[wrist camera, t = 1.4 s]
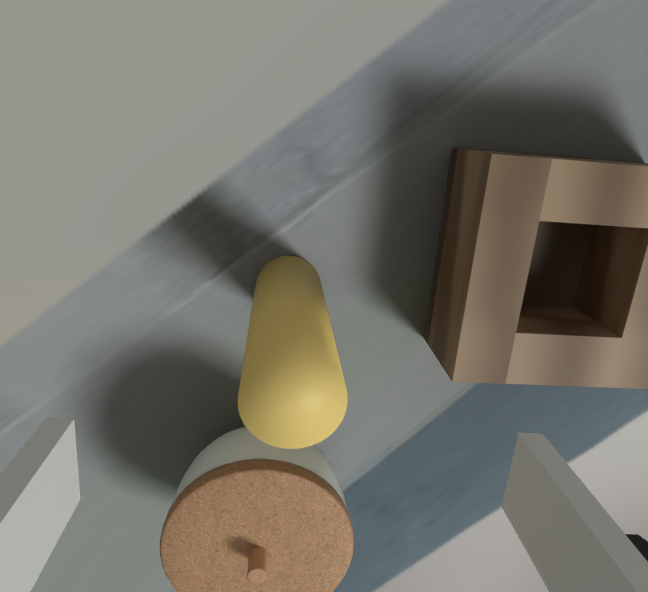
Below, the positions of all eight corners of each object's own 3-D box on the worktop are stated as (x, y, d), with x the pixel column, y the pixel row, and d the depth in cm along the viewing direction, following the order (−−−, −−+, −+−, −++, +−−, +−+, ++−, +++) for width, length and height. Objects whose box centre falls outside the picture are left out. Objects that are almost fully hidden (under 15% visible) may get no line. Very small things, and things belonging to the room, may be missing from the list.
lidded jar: (178, 522, 37) (146, 647, 28) (190, 388, 34) (158, 482, 25) (326, 532, 39) (340, 655, 30) (351, 404, 35) (375, 499, 26)
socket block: (423, 338, 34) (452, 381, 28) (452, 147, 30) (491, 153, 25) (597, 346, 35) (658, 389, 30) (645, 163, 32) (725, 172, 26)
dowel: (254, 315, 33) (235, 447, 20) (256, 253, 32) (239, 349, 18) (318, 318, 33) (342, 450, 20) (323, 257, 32) (352, 354, 19)
